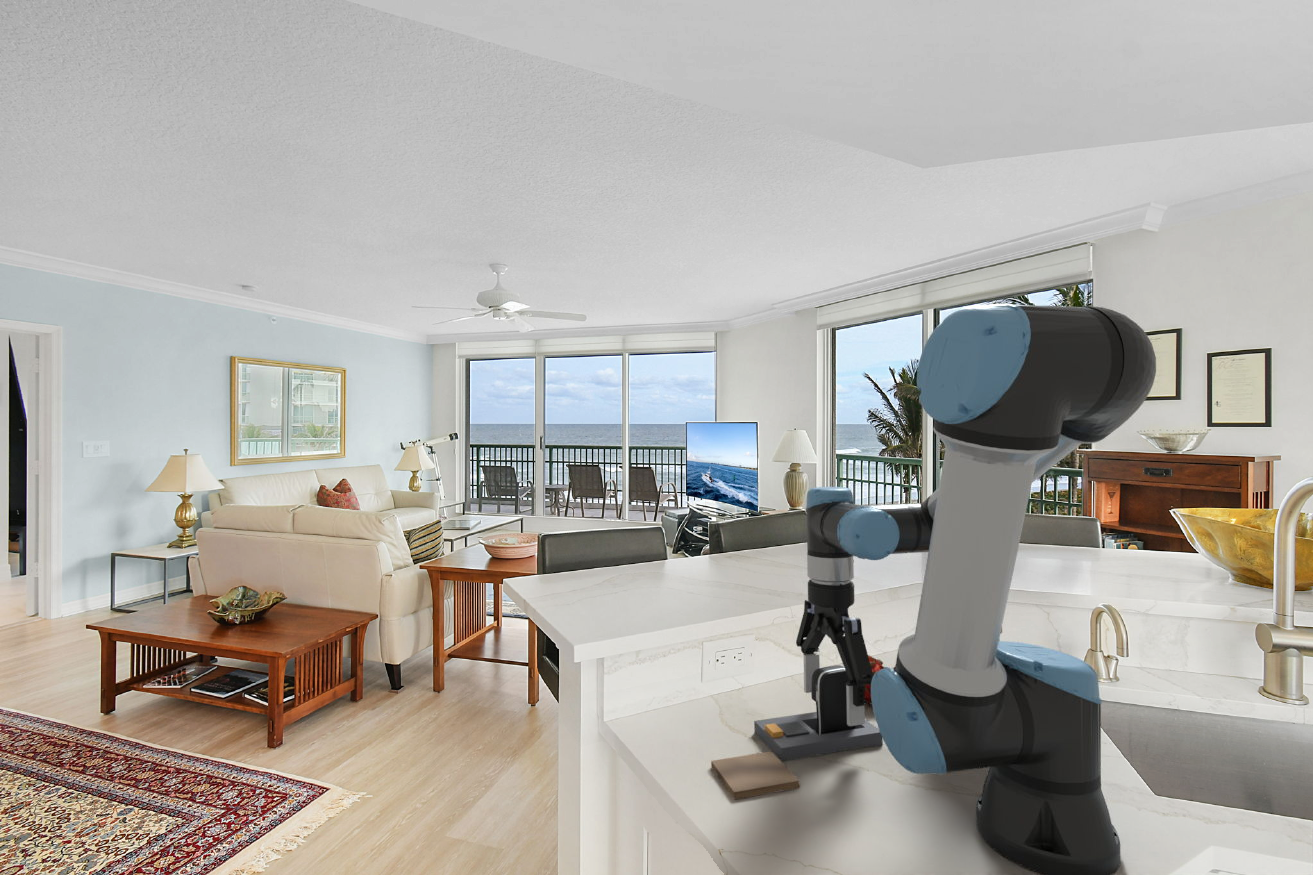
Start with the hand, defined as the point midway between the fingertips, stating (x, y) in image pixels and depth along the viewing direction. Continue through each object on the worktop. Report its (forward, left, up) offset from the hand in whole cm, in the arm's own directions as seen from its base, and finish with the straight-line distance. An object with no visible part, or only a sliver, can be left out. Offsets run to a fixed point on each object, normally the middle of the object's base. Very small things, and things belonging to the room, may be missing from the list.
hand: (832, 706), depth 107 cm
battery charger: (0, 0, -5) cm, 5 cm away
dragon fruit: (+11, -15, -5) cm, 19 cm away
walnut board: (-8, +18, -5) cm, 20 cm away
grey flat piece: (0, +3, -5) cm, 6 cm away
